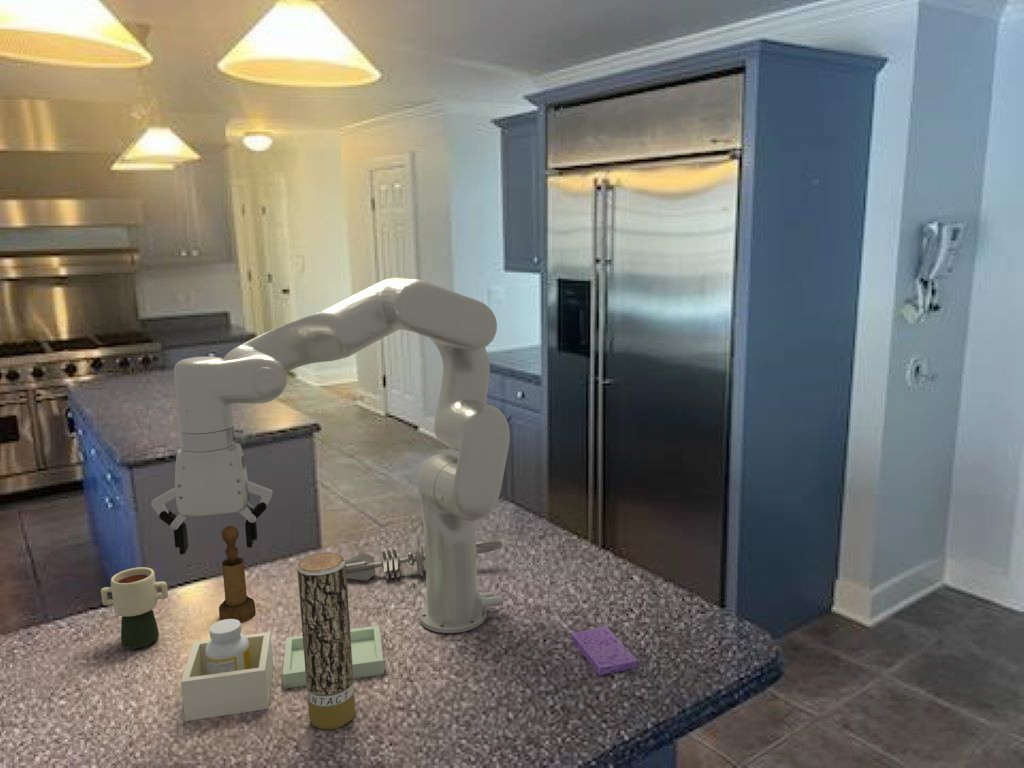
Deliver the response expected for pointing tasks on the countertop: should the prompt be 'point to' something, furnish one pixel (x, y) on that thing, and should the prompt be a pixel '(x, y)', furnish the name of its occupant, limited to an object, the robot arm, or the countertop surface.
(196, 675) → the cream square frame
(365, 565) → the spaceship
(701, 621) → the countertop surface
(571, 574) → the countertop surface
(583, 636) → the sponges
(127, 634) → the character mug
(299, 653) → the tray
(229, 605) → the mortar and pestle
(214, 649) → the pill bottle
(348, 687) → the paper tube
